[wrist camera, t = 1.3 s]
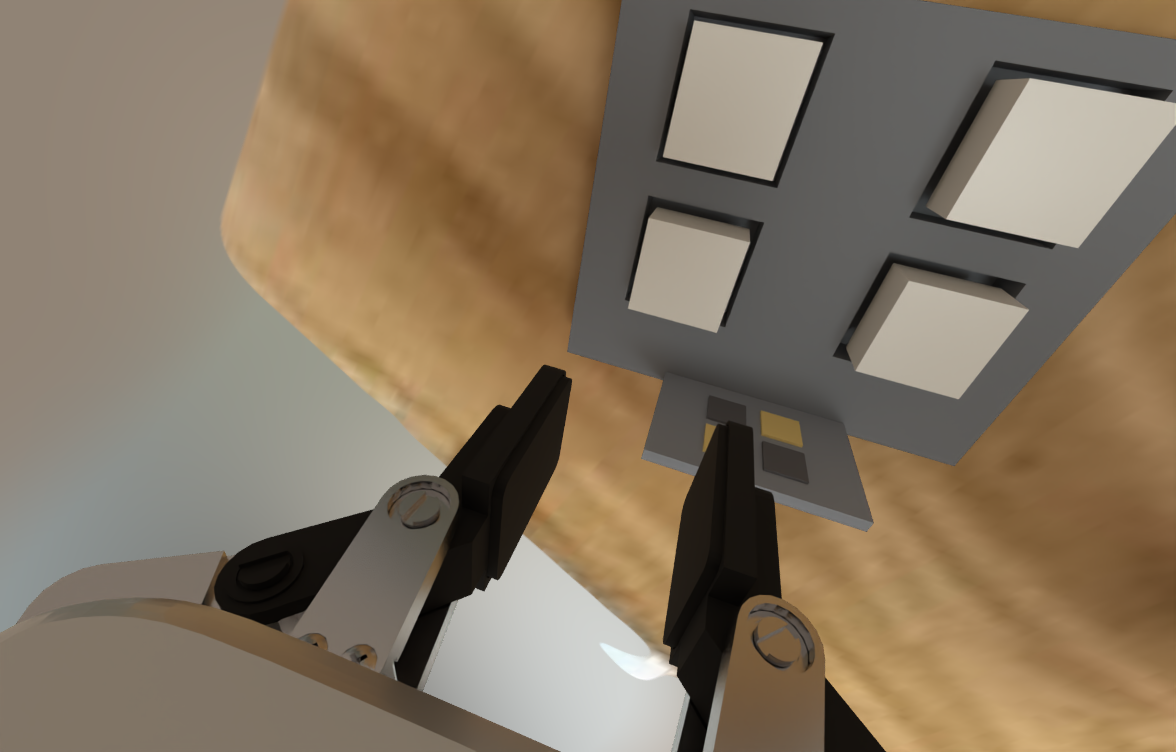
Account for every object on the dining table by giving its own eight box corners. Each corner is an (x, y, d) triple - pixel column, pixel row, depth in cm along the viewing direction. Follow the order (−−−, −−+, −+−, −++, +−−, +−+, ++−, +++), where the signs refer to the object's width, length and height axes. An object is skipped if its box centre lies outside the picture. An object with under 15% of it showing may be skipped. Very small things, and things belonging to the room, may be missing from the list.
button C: (1001, 288, 20) (1029, 309, 18) (939, 372, 22) (958, 399, 20) (893, 262, 20) (909, 280, 18) (845, 347, 23) (855, 370, 21)
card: (845, 421, 25) (875, 520, 19) (838, 431, 25) (866, 531, 19) (666, 369, 26) (644, 446, 20) (663, 380, 27) (641, 458, 21)
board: (1225, 64, 16) (1310, 59, 14) (934, 431, 27) (954, 466, 24) (642, -28, 20) (628, -45, 17) (581, 330, 30) (567, 351, 27)
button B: (814, 48, 17) (823, 42, 15) (769, 172, 20) (772, 181, 18) (699, 28, 18) (694, 20, 16) (670, 150, 21) (662, 157, 19)
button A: (1135, 104, 16) (1190, 105, 14) (1042, 231, 18) (1077, 248, 16) (996, 79, 16) (1030, 78, 15) (925, 206, 19) (946, 219, 17)
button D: (749, 228, 21) (750, 242, 19) (718, 313, 24) (716, 332, 22) (657, 206, 22) (648, 217, 20) (637, 291, 25) (627, 308, 23)
